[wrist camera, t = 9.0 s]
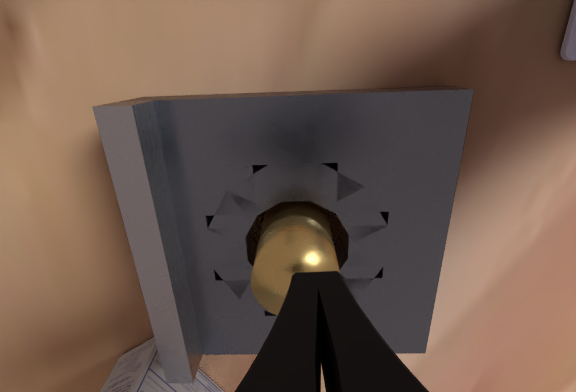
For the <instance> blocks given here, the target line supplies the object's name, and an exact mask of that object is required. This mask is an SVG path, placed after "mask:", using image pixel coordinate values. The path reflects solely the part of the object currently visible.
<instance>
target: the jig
mask: <svg viewBox="0 0 576 392" xmlns="http://www.w3.org/2000/svg"><path fill="white" fill-rule="evenodd" d="M473 93H474V89H469V88H460V87H451V86H438V87H410V88H382V89H354V90H326V91H298V92H270V93H242V94H214V95H186V96H158V97H141V98H136V99H130V100H125V101H120V102H114V103H109V104H104V105H99V106H93V111H94V115H95V118H96V122H97V126H98V129H99V133H100V137H101V141H102V144H103V148H104V152H105V155H106V159H107V163H108V167H109V170H110V174H111V178H112V182H113V185H114V189H115V193H116V196H117V200H118V204H119V208H120V211H121V215H122V219H123V222H124V226H125V230H126V234H127V237H128V241H129V245H130V248H131V252H132V256H133V260H134V263H135V267H136V271H137V274H138V278H139V282H140V286H141V289H142V293H143V297H144V300H145V304H146V308H147V312H148V315H149V319H150V323H151V327H152V330H153V334H154V338H155V341H156V345H157V349H158V353H159V356H160V360H161V364H162V367H163V371H164V375H165V379H166V382H167V383H194V379H195V376H196V373H197V370H198V367H199V364H200V361H201V358H202V355H208V354H258V353H259V351H260V349H261V347H262V346H263V344H264V342H265V340H266V338H267V336H268V335H269V333H270V331H271V329H272V327H273V325H274V322H275V320H276V318H277V315H275V314H273V313H271V312H269V311H267V310H266V309H265V308H263V307H262V306H261V305H260V304H259V303H258V301H257V300H256V298H255V296H254V294H253V292H252V289H251V275H252V270H253V266H254V261H255V256H256V252H257V247H258V243H257V242H256V241H255V239H254V238H253V228H252V224H253V222H254V221H255V219H256V217H257V215H259V214H261V213H262V212H264V211H266V210H268V209H269V208H271V207H273V206H275V205H276V204H278V203H280V202H291V201H311V202H313V203H315V204H317V205H319V206H321V207H323V208H325V209H327V210H329V211H331V212H333V213H335V214H336V215H337V217H338V218H339V220H340V222H341V223H342V236H341V238H340V239H339V241H338V242H337V244H336V245H335V252H336V257H337V261H338V266H339V271H340V274H341V275H342V277H343V279H344V281H345V283H346V285H347V287H348V288H349V290H350V292H351V293H352V295H353V297H354V298H355V300H356V301H357V303H358V304H359V306H360V307H361V309H362V310H363V312H364V313H365V315H366V316H367V317H368V319H369V320H370V322H371V323H372V324H373V326H374V327H375V329H376V330H377V331H378V333H379V334H380V335H381V336H382V338H383V339H384V340H385V342H386V343H387V344H388V345H389V347H390V348H391V349H392V350H393V351H394V353H425V352H426V347H427V341H428V336H429V330H430V325H431V320H432V314H433V309H434V303H435V298H436V293H437V287H438V282H439V276H440V271H441V266H442V260H443V255H444V250H445V244H446V239H447V233H448V228H449V223H450V217H451V212H452V206H453V201H454V196H455V190H456V185H457V179H458V174H459V169H460V163H461V158H462V152H463V147H464V142H465V136H466V131H467V125H468V120H469V115H470V109H471V104H472V98H473Z"/></svg>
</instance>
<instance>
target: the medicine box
mask: <svg viewBox="0 0 576 392" xmlns="http://www.w3.org/2000/svg"><path fill="white" fill-rule="evenodd" d="M100 392H224V391H223V390H222V389H221V388H220V387H219V386H217V385H216V384H215V383H214V382H213V381H212V380H211V379H210V378H208V377H207V376H206V375H205V374H204V373H203V372H202V371H201V370H200V369H198V370H197V373H196V376H195V379H194V383H167V382H166V379H165V375H164V371H163V367H162V364H161V360H160V356H159V353H158V349H157V345H156V341H155V338H154V337H153V338H151V339H150V340H148V341H146V342H144V343H143V344H141V345H139V346H137V347H136V348H134V349H132V350H130V351H129V352H127V353H125V354H123V355H122V356H120V358H119V359H118V361H117V363H116V364H115V366H114V368H113V370H112V371H111V373H110V375H109V376H108V378H107V380H106V381H105V383H104V385H103V387H102V388H101V390H100Z"/></svg>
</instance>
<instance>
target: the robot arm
mask: <svg viewBox="0 0 576 392" xmlns="http://www.w3.org/2000/svg"><path fill="white" fill-rule="evenodd" d="M560 55H561V57H562V58H563V59H564V60H567V61H575V60H576V0H574V3H573V7H572V10H571V14H570V18H569V21H568V25H567V29H566V32H565V36H564V40H563V43H562V47H561V52H560ZM321 364H322V370H323V376H324V382H325V388H326V392H429V391H428V390H427V389H426V388H425V387H424V386H423V385H422V384H421V382H420V381H419V380H418V379H417V378H416V377H415V376H414V375H413V374H412V373H411V371H410V370H409V369H408V368H407V367H406V366H405V365H404V363H403V362H402V361H401V360H400V359H399V358H398V356H397V355H396V354H395V353H394V351H393V350H392V349H391V348H390V347H389V345H388V344H387V343H386V342H385V340H384V339H383V338H382V336H381V335H380V334H379V333H378V331H377V330H376V329H375V327H374V326H373V324H372V323H371V322H370V320H369V319H368V317H367V316H366V315H365V313H364V312H363V310H362V309H361V307H360V306H359V304H358V303H357V301H356V300H355V298H354V297H353V295H352V293H351V292H350V290H349V288H348V287H347V285H346V283H345V281H344V279H343V277H342V275H341V274H340V273H339V272H338V271H323V272H298V273H294V274H293V275H292V277H291V282H290V285H289V289H288V292H287V294H286V297H285V300H284V302H283V305H282V307H281V309H280V311H279V314H278V316H277V318H276V320H275V322H274V325H273V327H272V329H271V331H270V333H269V335H268V336H267V338H266V340H265V342H264V344H263V346H262V347H261V349H260V351H259V353H258V355H257V357H256V358H255V360H254V362H253V363H252V365H251V367H250V368H249V370H248V372H247V373H246V375H245V377H244V378H243V380H242V381H241V383H240V384H239V386H238V387H237V389H236V390H235V392H321Z"/></svg>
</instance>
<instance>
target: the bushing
mask: <svg viewBox="0 0 576 392" xmlns="http://www.w3.org/2000/svg"><path fill="white" fill-rule="evenodd" d="M323 271H338V272H339V273H340V271H339V266H338V261H337V257H336V252H335V247H334V243H333V238H332V233H331V229H330V224H329V219H328V215H327V212H326V209H325V208H323V207H321V206H319V205H317V204H315V203H313V202H311V201H291V202H280V203H278V204H276V205H275V206H273V207H271V208H269V209H268V210H266V212H265V215H264V220H263V224H262V229H261V233H260V238H259V243H258V247H257V252H256V256H255V261H254V266H253V270H252V275H251V289H252V292H253V294H254V296H255V298H256V300H257V301H258V303H259V304H260V305H261V306H262V307H263V308H265V309H266V310H267V311H269V312H271V313H273V314H275V315H277V316H278V314H279V311H280V309H281V307H282V305H283V302H284V300H285V297H286V294H287V292H288V289H289V285H290V282H291V277H292V275H293V274H294V273H298V272H323Z"/></svg>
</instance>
